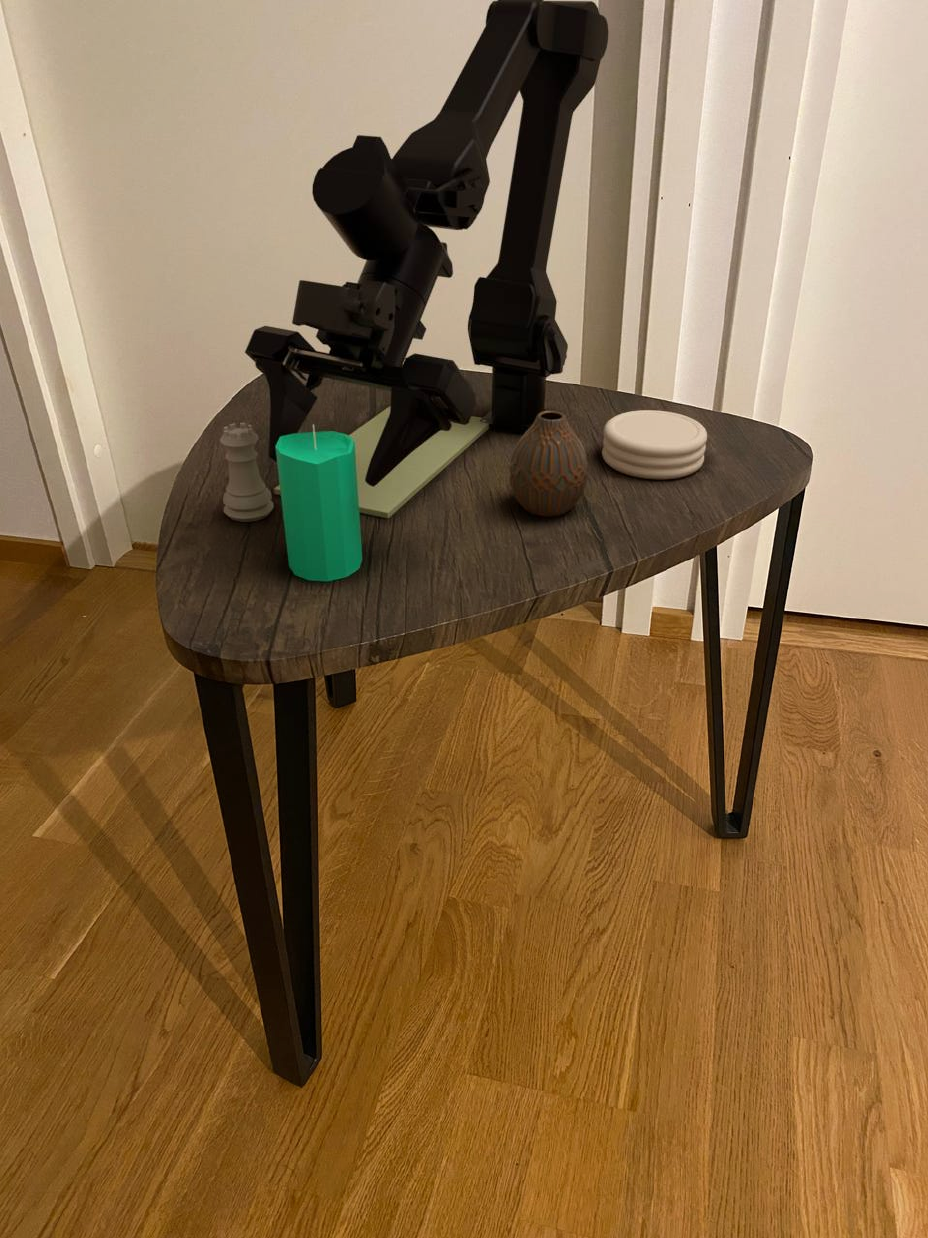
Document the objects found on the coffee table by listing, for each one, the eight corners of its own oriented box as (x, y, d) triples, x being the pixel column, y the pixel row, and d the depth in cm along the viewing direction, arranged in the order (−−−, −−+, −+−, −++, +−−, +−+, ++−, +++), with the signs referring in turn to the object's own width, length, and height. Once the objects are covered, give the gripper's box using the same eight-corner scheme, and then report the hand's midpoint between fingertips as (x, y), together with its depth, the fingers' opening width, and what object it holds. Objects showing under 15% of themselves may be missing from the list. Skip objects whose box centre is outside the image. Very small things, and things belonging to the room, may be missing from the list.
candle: (275, 573, 79) (258, 434, 72) (310, 540, 84) (297, 405, 77) (342, 587, 77) (331, 445, 71) (374, 551, 82) (366, 415, 75)
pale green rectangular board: (394, 407, 109) (394, 402, 109) (493, 424, 105) (493, 419, 105) (274, 494, 91) (273, 488, 91) (388, 518, 87) (387, 512, 87)
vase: (580, 527, 86) (587, 433, 81) (502, 520, 87) (505, 426, 82) (588, 493, 91) (595, 403, 86) (515, 487, 92) (517, 398, 88)
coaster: (593, 474, 95) (595, 440, 93) (610, 435, 103) (613, 403, 101) (698, 487, 92) (703, 452, 90) (707, 446, 100) (712, 414, 98)
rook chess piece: (230, 527, 86) (217, 441, 81) (219, 506, 89) (206, 423, 85) (279, 518, 87) (270, 433, 83) (267, 497, 91) (257, 415, 86)
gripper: (245, 219, 75) (166, 403, 73) (458, 247, 67) (376, 453, 65) (315, 299, 85) (247, 463, 83) (507, 332, 77) (437, 512, 75)
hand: (320, 471), depth 76 cm, fingers open, 9 cm apart
